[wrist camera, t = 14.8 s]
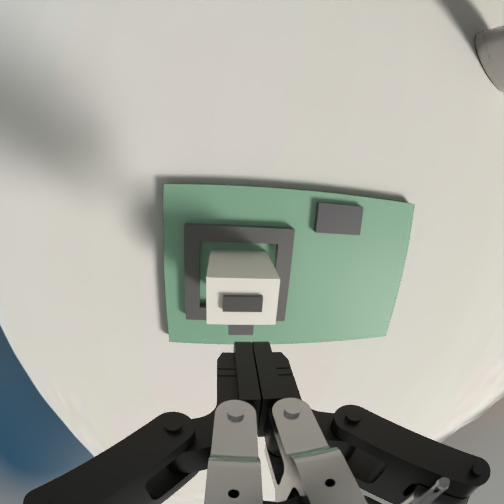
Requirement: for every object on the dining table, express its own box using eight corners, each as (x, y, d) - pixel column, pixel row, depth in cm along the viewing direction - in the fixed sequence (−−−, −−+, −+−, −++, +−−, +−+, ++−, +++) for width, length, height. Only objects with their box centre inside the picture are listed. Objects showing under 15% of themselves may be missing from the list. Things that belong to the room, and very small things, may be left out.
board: (408, 202, 24) (419, 205, 22) (381, 331, 27) (388, 340, 26) (166, 183, 21) (161, 184, 19) (170, 335, 25) (167, 346, 23)
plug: (266, 250, 23) (281, 280, 17) (262, 296, 24) (274, 337, 18) (210, 249, 22) (205, 279, 16) (210, 295, 23) (206, 336, 17)
